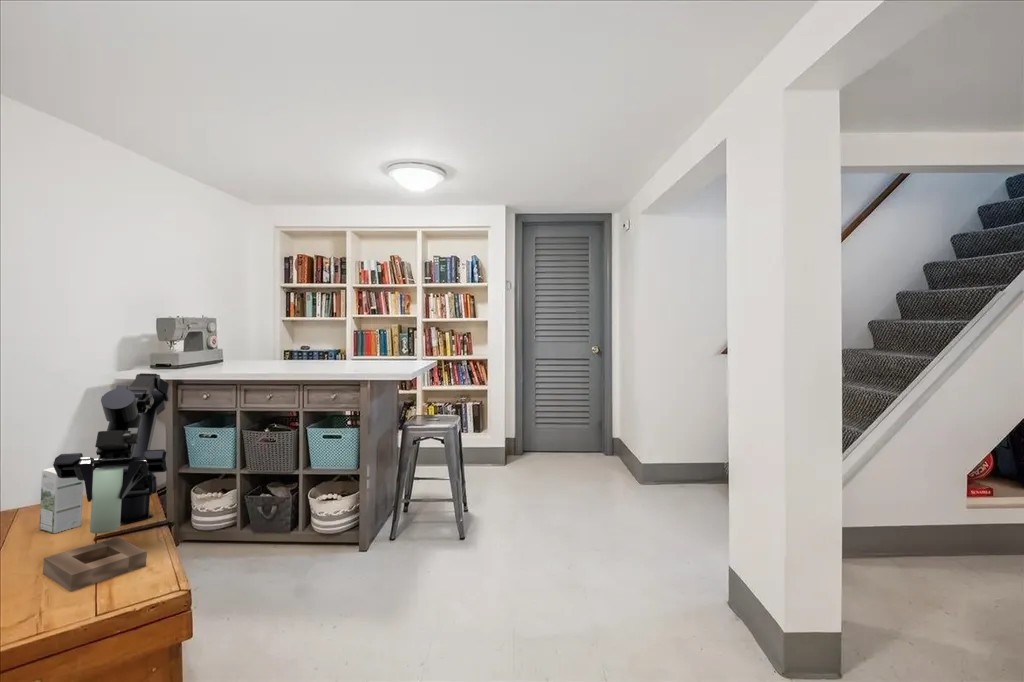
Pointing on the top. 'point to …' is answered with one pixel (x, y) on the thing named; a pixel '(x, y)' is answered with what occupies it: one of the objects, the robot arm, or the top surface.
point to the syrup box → (60, 502)
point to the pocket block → (93, 563)
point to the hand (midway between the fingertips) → (105, 499)
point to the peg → (106, 499)
